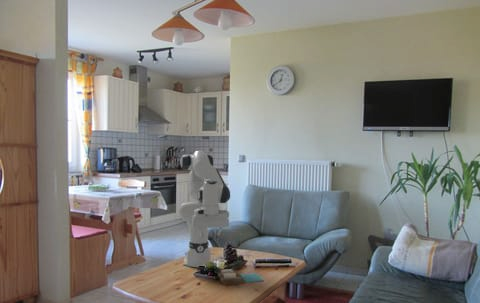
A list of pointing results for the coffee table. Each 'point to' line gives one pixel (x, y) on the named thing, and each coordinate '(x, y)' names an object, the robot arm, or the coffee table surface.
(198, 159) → the robot arm
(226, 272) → the birch tile
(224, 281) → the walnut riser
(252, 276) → the teal mat
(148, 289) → the coffee table surface
